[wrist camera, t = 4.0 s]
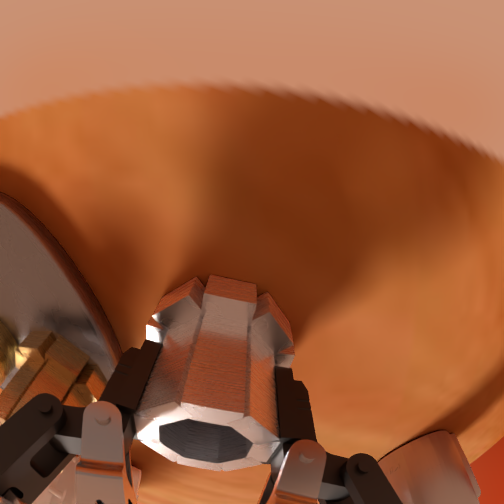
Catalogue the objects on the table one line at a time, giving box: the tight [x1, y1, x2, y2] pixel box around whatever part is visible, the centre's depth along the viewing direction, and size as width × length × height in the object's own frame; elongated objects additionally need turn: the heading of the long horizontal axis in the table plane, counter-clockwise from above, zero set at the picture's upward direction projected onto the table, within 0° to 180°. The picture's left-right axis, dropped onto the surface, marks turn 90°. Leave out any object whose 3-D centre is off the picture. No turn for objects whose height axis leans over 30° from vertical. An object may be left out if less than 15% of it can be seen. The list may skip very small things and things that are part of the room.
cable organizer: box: [32, 455, 141, 504], centre depth 16 cm, size 15×11×12 cm
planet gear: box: [134, 275, 295, 471], centre depth 10 cm, size 6×6×6 cm
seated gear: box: [0, 331, 108, 473], centre depth 10 cm, size 6×6×6 cm
